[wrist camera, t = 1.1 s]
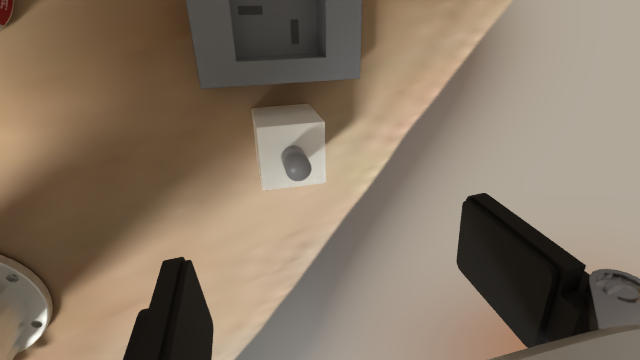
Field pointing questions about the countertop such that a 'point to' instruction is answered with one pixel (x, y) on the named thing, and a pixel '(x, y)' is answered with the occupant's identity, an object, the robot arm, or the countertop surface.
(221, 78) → the socket plate
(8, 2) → the soda can
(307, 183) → the plug
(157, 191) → the countertop surface
